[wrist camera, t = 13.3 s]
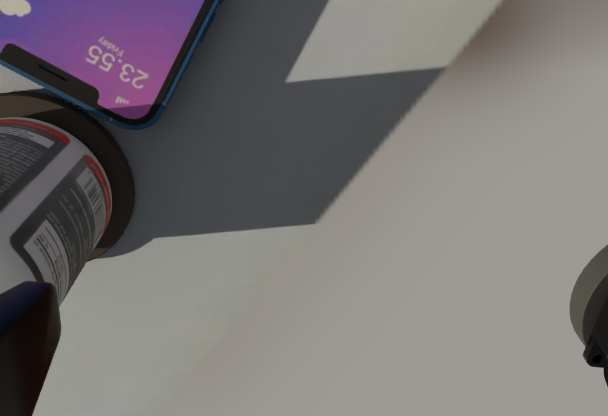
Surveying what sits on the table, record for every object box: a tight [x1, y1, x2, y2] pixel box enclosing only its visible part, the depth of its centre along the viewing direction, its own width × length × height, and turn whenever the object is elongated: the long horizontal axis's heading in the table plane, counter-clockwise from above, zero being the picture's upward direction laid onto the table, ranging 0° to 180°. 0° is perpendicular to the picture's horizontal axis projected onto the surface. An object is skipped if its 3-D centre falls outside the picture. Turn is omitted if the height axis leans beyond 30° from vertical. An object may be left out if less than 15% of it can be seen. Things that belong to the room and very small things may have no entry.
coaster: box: [0, 92, 135, 262], centre depth 20 cm, size 7×7×1 cm
